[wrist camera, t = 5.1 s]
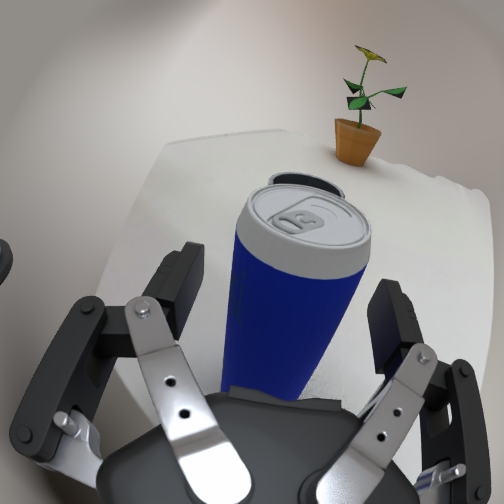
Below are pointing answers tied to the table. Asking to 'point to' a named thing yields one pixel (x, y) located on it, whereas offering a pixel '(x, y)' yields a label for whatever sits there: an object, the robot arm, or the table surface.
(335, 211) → the beverage can
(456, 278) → the table surface
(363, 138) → the potted plant
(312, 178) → the grey pen holder cup
